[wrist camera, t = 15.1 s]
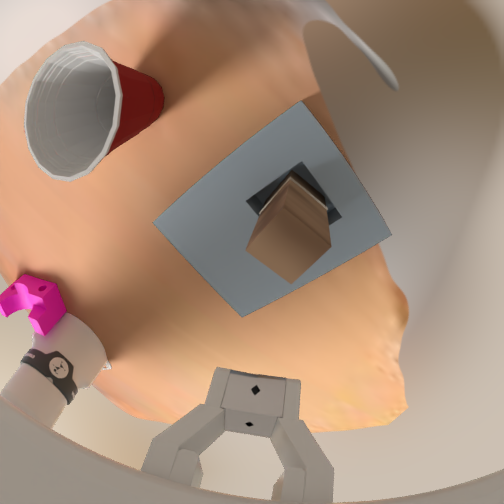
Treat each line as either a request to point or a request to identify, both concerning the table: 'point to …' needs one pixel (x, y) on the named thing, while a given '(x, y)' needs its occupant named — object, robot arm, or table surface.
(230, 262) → the socket board
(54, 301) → the toy block
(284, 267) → the walnut peg
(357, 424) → the table surface
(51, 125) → the plastic cup
